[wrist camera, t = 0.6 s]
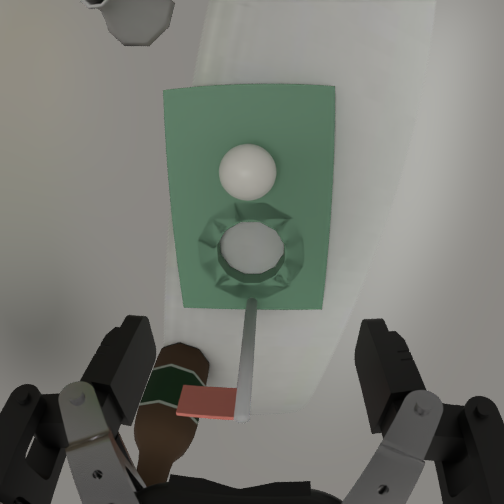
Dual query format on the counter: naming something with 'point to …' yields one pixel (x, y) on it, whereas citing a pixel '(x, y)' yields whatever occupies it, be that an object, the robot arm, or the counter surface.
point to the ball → (247, 172)
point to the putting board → (248, 209)
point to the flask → (134, 19)
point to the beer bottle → (167, 411)
